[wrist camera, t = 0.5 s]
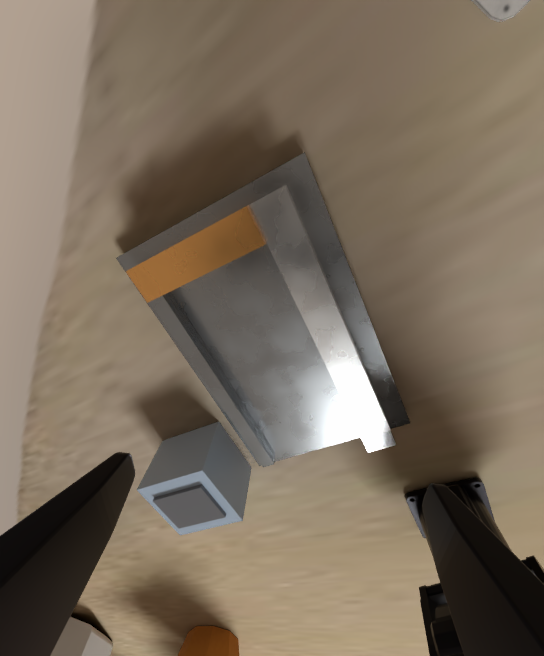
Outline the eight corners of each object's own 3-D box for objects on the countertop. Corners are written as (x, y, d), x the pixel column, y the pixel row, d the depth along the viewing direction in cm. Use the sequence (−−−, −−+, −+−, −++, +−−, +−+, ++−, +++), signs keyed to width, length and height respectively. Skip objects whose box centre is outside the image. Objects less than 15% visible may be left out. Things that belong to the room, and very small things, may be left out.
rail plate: (406, 414, 24) (425, 455, 20) (260, 456, 27) (255, 498, 24) (304, 153, 17) (305, 145, 13) (124, 254, 20) (86, 270, 16)
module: (251, 466, 28) (242, 524, 23) (198, 481, 30) (178, 539, 25) (219, 420, 26) (201, 474, 21) (163, 439, 28) (134, 493, 23)
